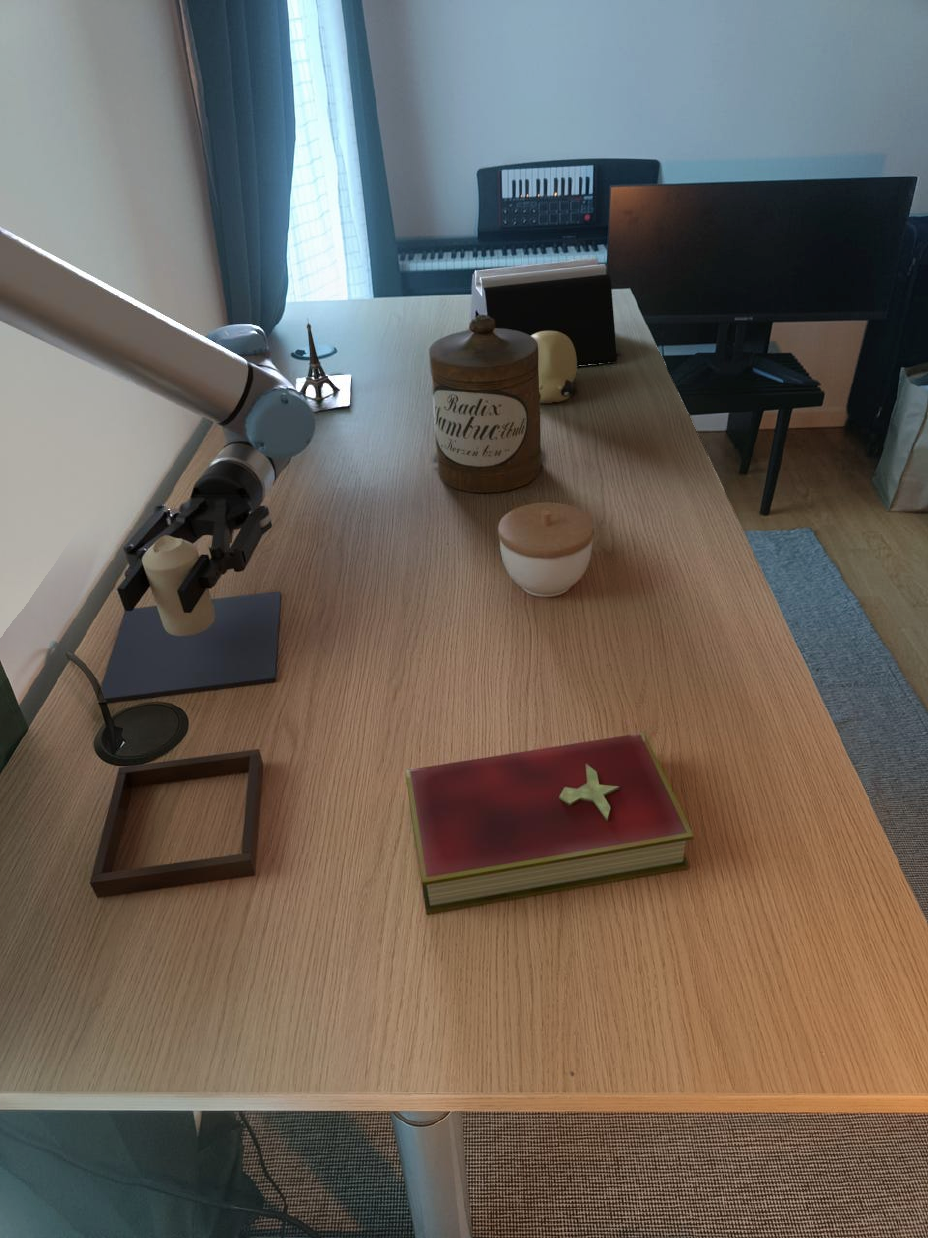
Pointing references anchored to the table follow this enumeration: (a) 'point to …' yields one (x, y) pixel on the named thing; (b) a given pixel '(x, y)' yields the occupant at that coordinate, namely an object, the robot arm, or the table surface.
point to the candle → (176, 586)
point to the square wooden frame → (187, 871)
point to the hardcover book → (544, 822)
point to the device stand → (552, 303)
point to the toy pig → (555, 366)
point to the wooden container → (486, 407)
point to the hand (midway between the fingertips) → (154, 600)
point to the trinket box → (546, 546)
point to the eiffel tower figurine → (323, 384)
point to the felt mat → (195, 651)
